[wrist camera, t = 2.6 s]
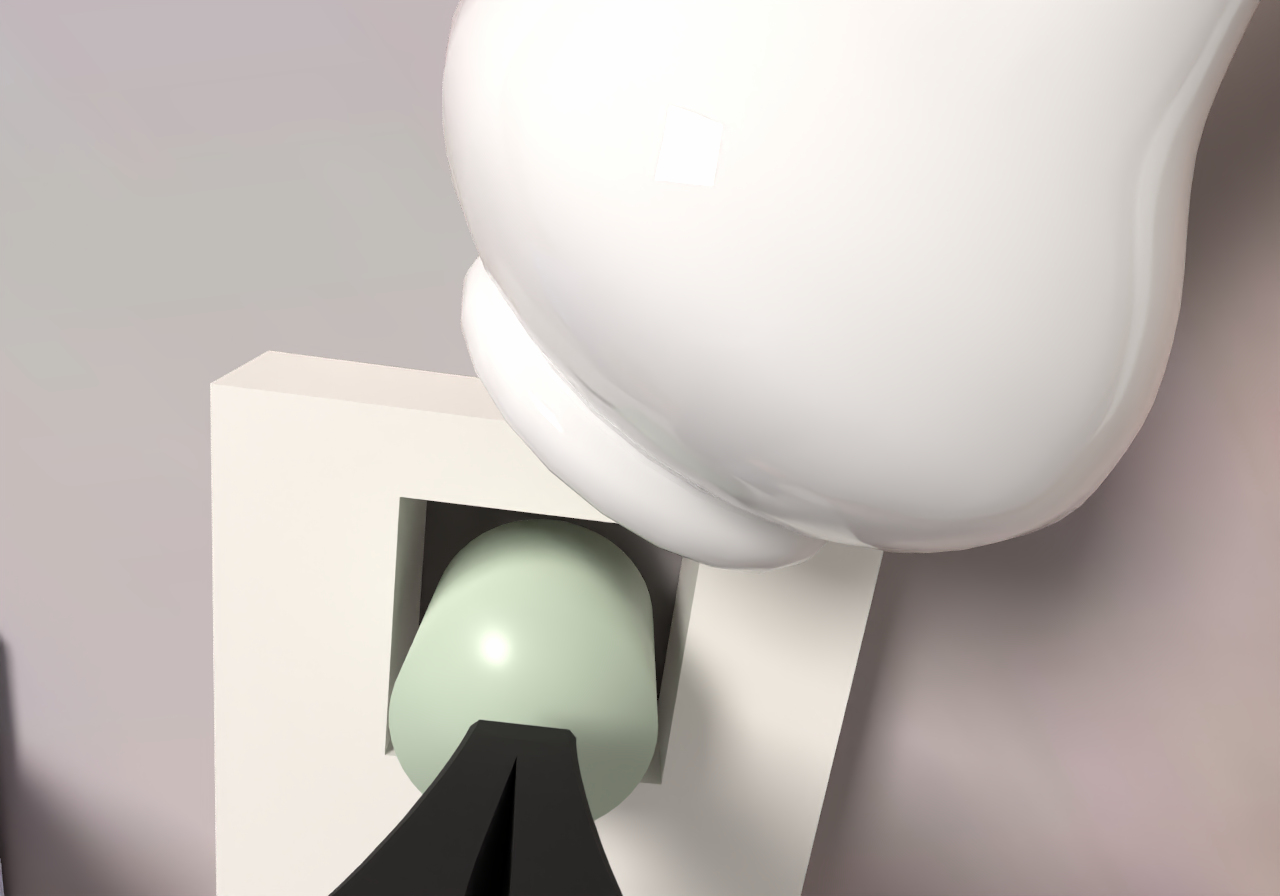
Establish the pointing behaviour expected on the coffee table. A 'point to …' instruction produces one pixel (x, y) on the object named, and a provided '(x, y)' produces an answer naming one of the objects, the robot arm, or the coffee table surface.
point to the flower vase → (828, 254)
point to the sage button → (535, 655)
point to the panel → (389, 619)
